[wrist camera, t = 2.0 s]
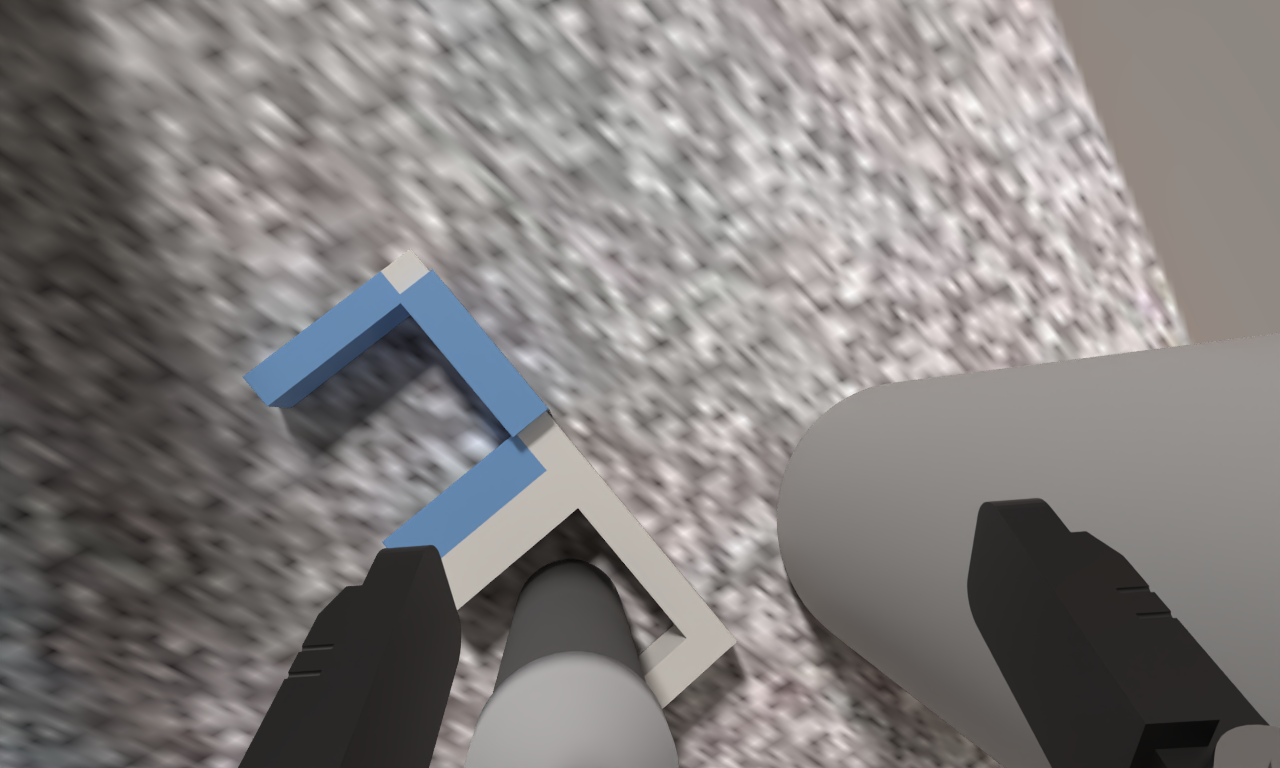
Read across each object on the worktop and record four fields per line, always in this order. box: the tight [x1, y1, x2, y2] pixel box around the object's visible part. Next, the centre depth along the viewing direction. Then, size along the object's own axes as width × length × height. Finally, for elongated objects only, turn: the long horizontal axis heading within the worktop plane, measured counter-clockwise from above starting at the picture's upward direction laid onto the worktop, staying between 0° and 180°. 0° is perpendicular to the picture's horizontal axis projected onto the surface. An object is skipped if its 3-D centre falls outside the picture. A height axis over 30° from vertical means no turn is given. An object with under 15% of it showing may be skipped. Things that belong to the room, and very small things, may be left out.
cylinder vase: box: [777, 333, 1280, 768], centre depth 21 cm, size 12×12×25 cm
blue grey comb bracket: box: [243, 249, 737, 709], centre depth 30 cm, size 8×21×3 cm, turn 40°
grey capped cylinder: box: [464, 559, 679, 768], centre depth 24 cm, size 5×5×15 cm
